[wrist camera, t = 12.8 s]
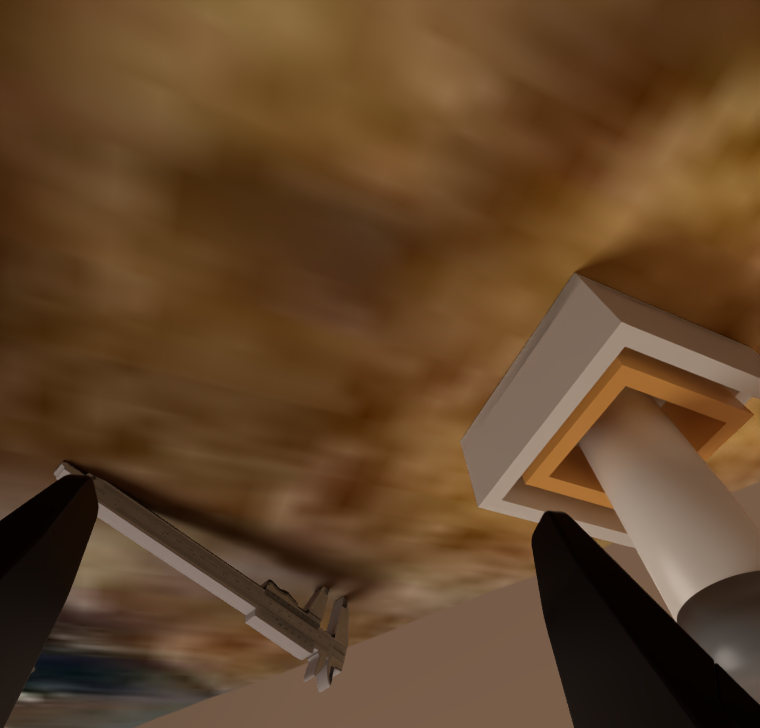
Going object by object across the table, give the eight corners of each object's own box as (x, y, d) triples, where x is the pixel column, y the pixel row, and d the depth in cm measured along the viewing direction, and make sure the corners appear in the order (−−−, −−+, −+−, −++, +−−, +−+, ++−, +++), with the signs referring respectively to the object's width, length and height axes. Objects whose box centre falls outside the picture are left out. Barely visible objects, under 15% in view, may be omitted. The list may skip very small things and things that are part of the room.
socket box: (460, 441, 27) (478, 507, 23) (574, 272, 22) (621, 322, 18) (615, 487, 29) (653, 552, 26) (750, 347, 24) (823, 403, 20)
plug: (548, 410, 25) (688, 679, 14) (616, 359, 23) (827, 620, 13) (594, 447, 26) (749, 714, 16) (660, 402, 25) (879, 665, 14)
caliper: (349, 594, 35) (349, 692, 30) (339, 601, 35) (337, 699, 30) (65, 456, 26) (-5, 559, 21) (56, 467, 27) (-15, 571, 22)
